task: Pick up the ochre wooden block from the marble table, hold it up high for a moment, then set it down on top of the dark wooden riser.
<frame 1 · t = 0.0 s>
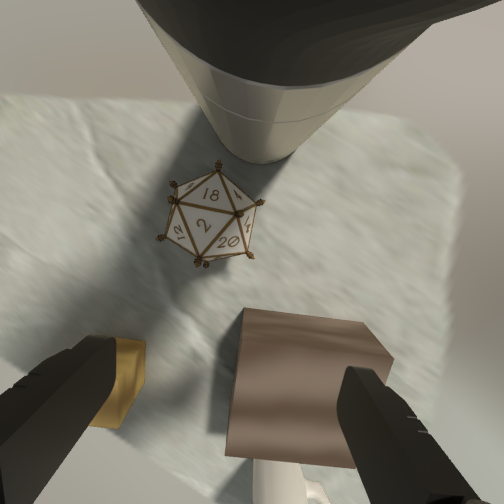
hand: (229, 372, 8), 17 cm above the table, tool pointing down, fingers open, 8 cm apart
riser: (293, 365, 28), on the table
game die: (218, 214, 24), on the table
ochre block: (120, 358, 28), on the table
mug: (286, 454, 33), on the table
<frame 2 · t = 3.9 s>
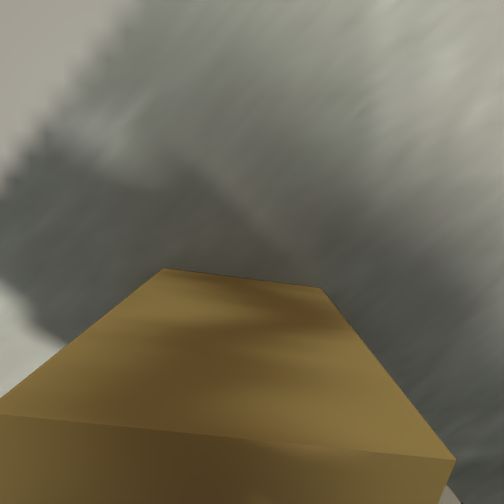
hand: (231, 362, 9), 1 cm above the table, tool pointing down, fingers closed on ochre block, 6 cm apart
ochre block: (233, 347, 9), on the table, touching gripper
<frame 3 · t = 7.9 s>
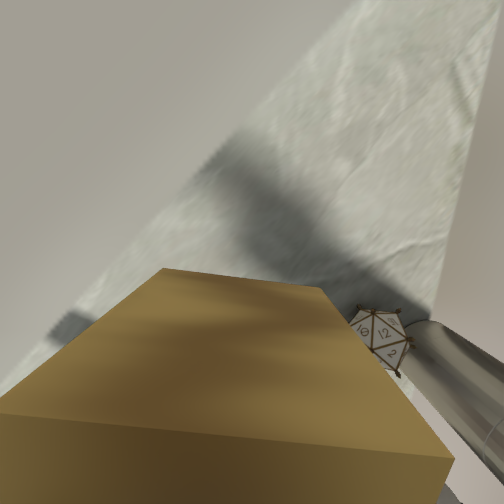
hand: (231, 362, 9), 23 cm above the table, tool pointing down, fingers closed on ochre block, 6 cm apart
game die: (361, 320, 34), on the table
ochre block: (233, 347, 9), point 22 cm above the table, touching gripper
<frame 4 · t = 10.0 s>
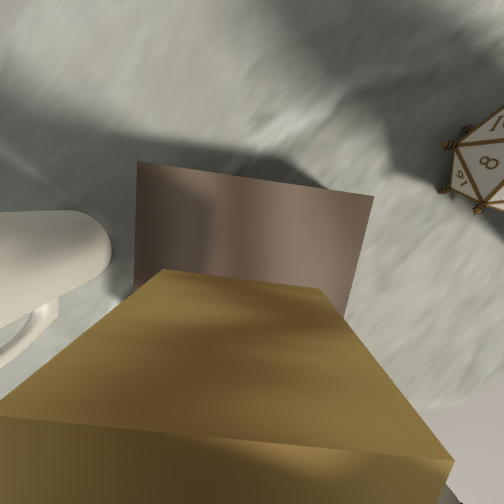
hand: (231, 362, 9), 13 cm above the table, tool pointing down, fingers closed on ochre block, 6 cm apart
riser: (244, 264, 21), on the table
game die: (465, 165, 19), on the table
ochre block: (233, 348, 9), point 12 cm above the table, touching gripper
mug: (79, 262, 21), on the table
when the fingers open (8 cm above the table, at t = 11.8 s): ochre block drops 1 cm, resting on riser.
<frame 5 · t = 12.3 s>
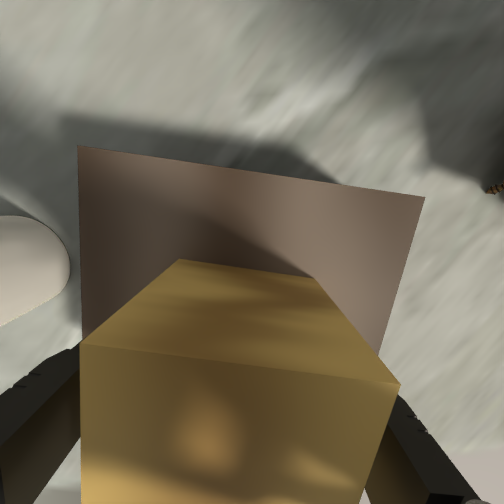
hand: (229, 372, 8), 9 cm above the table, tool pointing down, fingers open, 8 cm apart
riser: (240, 282, 17), on the table
ochre block: (238, 329, 11), point 6 cm above the table, touching riser
mug: (30, 281, 17), on the table
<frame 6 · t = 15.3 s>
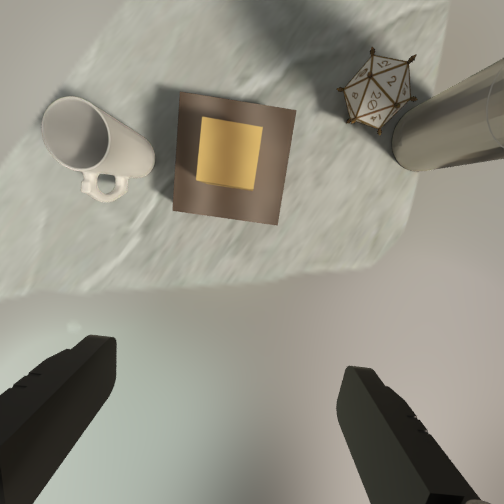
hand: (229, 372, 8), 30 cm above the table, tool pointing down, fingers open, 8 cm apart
riser: (234, 168, 35), on the table
game die: (360, 106, 34), on the table
ochre block: (232, 163, 29), point 6 cm above the table, touching riser
mug: (135, 168, 35), on the table
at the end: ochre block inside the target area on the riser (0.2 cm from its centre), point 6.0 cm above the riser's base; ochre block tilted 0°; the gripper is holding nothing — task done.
